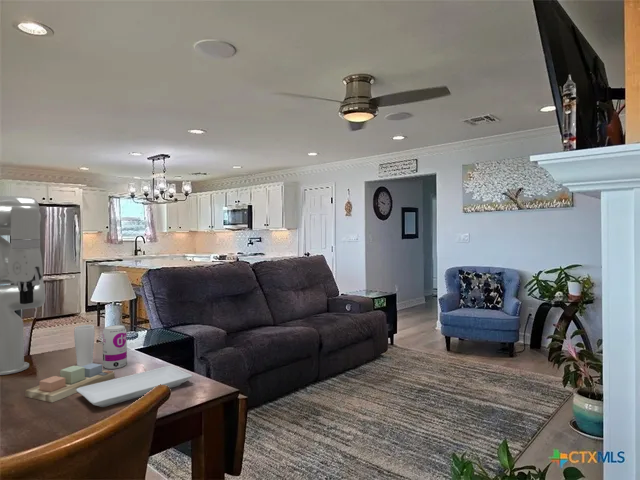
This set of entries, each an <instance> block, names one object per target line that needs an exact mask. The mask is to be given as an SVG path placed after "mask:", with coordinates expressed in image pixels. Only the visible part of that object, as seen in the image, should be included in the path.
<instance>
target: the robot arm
mask: <svg viewBox="0 0 640 480" xmlns="http://www.w3.org/2000/svg"><path fill="white" fill-rule="evenodd" d="M41 221H42V214H41V212H40V205H39V202H38V201H37V199H35V198H34V197H31V196H17V195H15V196H14V195H13V196H12V195H1V196H0V376H4V375H5V376H6V375H10V374H16V373H19V372H23V371H24V370H25V371H26V370H27V369H29V367H30V363H29V362H27V361H25V351H24V349H25V345H24V341H25V340H24V338H25V337H24V333H25V332H24V331H25V330H24V320H23V319H22V317H21V316H20V315H18V314H17V313H16V312H15V311H20V310H26V309H35V308H40V307H42V306H43V305H44V304H45V302H46V289H45V283H44V278H43V277H44V276H43V274H44V273H43V272H44V271H43V258H42V252H41ZM2 236H10V241H8V240H7V239H5V238H3V237H2Z"/></svg>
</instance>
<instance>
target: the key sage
mask: <svg viewBox="0 0 640 480" xmlns="http://www.w3.org/2000/svg"><path fill="white" fill-rule="evenodd" d="M59 377H64V378H65V383H67V384H69V385H72V384H75V383H76V382H78V381H81V380H84V379H85V367H80V366H77V365H72V366H71V365H70V366H67V367H65V368H62V369H60V370H59Z"/></svg>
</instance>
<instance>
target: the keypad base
mask: <svg viewBox="0 0 640 480" xmlns="http://www.w3.org/2000/svg"><path fill="white" fill-rule="evenodd" d="M115 377H116V376H115V371H113V370H105V369H102V373H100V374H98V375H96V376H93V377H91V378H88V377H85V379H84V380H81V381H78V382H76V383H73V384H67V383H65V386H66V387H64V388H61V389H59V390H56V391H54V392H51V393H49V392H44V391H39V385H37V386H34V387H31V388H28V389H26V390H24V392H25V395H24V396H25V397H26V398H30V399H34V400H40V401H43V402H49V403H54V402H57V401H60V400H63V399H64V398H67V397H70V396H72V395H75V394H77V393H78V392H77V391H76V389H77V388H80V387H83V386H87V385H92V384H96V383H100V382H104V381H108V380H112V379H116V378H115Z"/></svg>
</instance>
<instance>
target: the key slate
mask: <svg viewBox="0 0 640 480" xmlns="http://www.w3.org/2000/svg"><path fill="white" fill-rule="evenodd" d="M82 367H85V377H88V378H91V377H93V376H96V375H98V374H100V373H102V370H103V364H100V363H94V362H93V363H91V364H88V365H85V366H82Z"/></svg>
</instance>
